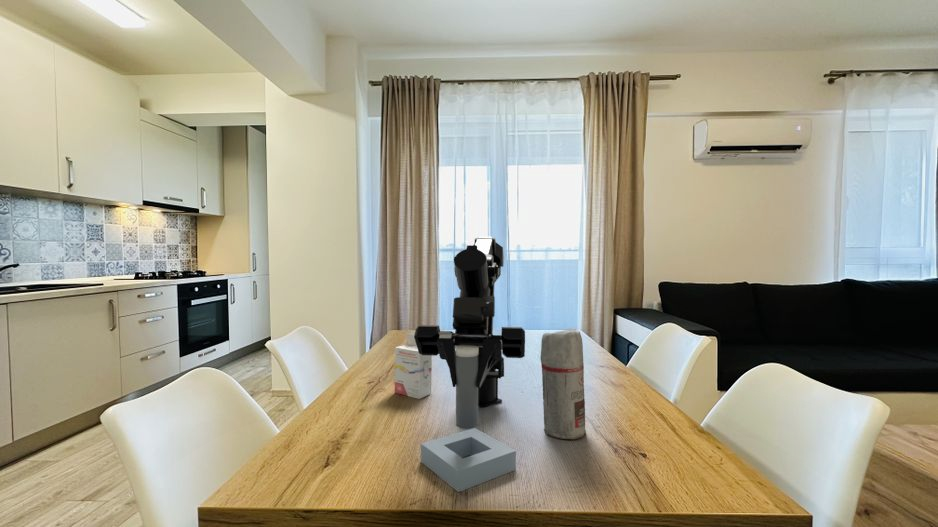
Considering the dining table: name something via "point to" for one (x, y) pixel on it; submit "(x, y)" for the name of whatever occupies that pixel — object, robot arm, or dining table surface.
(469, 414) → the peg
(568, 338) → the spray can
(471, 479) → the socket
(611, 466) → the dining table surface
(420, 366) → the ink cartridge box
